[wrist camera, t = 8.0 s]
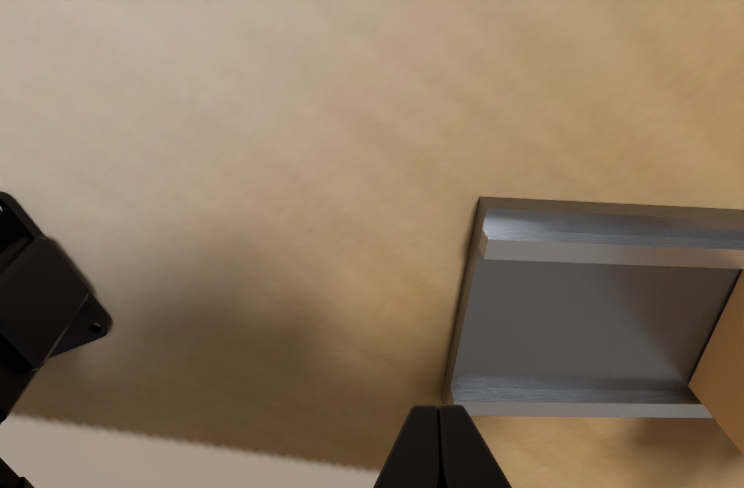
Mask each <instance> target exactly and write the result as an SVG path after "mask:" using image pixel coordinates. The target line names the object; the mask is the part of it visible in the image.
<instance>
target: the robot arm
mask: <svg viewBox="0 0 744 488" xmlns="http://www.w3.org/2000/svg"><path fill="white" fill-rule="evenodd" d="M0 206H1V208H2V210H3V211H0V424H1V423H2V422H3V421H4V420H5V419H6V418H7V417H8V415H9V414H10V412H11V411H12V409H13V408H14V406H15V405H16V403H17V402H18V400H19V399H20V397H21V396H22V394H23V393H24V391H25V390H26V388H27V387H28V385H29V384H30V382H31V381H32V379H33V378H34V376H35V375H36V373H37V372H38V370H39V369H40V368H41V367H42V366H43V365H44V364H45V362H46V361H47V359H48V358H51V357H53V356H56V355H58V354H61V353H64V352H66V351H69V350H71V349H74V348H76V347H79V346H81V345H84V344H86V343H89V342H91V341H94V340H97V339H99V338H102V337H103V336H105V335H106V334H107V332H108V330H109V329H110V327H111V319H110V317H109V316H108V315H107V314H106V312H105V311H104V310H103V309H102V308H101V306H100V305H99V304H98V303H97V301H96V300H95V299H94V298H93V296H92V295H91V294H90V293H89V291H88V289H87V288H86V286H85V285H84V284H83V283H82V282H81V280H80V279H79V278H78V277H77V275H76V274H75V273H74V272H73V271H72V269H71V268H70V267H69V266H68V264H67V263H66V262H65V261H64V260H63V258H62V257H61V256H60V255H59V253H58V252H57V251H56V250H55V248H54V247H53V246H52V245H51V244H50V242H49V241H48V240H46V239H45V238H44V236H43V235H42V234H41V233H40V232H39V230H38V229H37V228H36V227H35V225H34V224H33V223H32V222H31V221H30V219H29V218H28V217H27V216H26V214H25V213H24V212H23V211H22V210H21V208H20V207H19V206H18V205H17V203H16V202H15V201H14V200H13V199H12V198H11V197H10V196H9V195H8V194H6V193H4V192H0ZM93 322H94V323H98V324H99V325H100V326H101V327H98V326H95V325H93V324H92V323H93ZM0 488H34V487H33V486H32V485H31V483H30V482H29V481H28V480H27V479H26V478H25V477H19V476H18V475H17V474H16V473H15V472H14V471H13V470H12V469H11V468H10V467H9V466H8V465H7V464H6V463H5V462H4V461H3V460H2V459H1V458H0ZM373 488H512V487H511V485H510V484H509V482H508V480H507V478H506V477H505V475H504V473H503V472H502V470H501V468H500V467H499V465H498V463H497V462H496V460H495V458H494V456H493V455H492V453H491V451H490V450H489V448H488V446H487V445H486V443H485V441H484V439H483V438H482V436H481V434H480V433H479V431H478V429H477V428H476V426H475V424H474V423H473V421H472V419H471V417H470V416H469V414H468V412H467V411H466V409H465V408H464V407H463V406H462V405H459V404H452V405H440V406H439V407H438V409H437V406H435V405H414V406H413V407H412V408H411V409H410V411H409V414H408V416H407V418H406V420H405V422H404V424H403V426H402V428H401V430H400V432H399V435H398V437H397V439H396V441H395V443H394V445H393V447H392V449H391V451H390V453H389V456H388V458H387V460H386V462H385V464H384V466H383V468H382V470H381V472H380V475H379V477H378V479H377V481H376V483H375V485H374V487H373Z"/></svg>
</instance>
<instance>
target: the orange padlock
mask: <svg viewBox="0 0 744 488" xmlns="http://www.w3.org/2000/svg"><path fill="white" fill-rule="evenodd" d="M688 386H689V388H690V389H691V390H692V391H693V393H694V394H695V395H696V396H697V398H698V399H699V400H700V401H701V403H702V404H703V405H704V406H705V408H706V409H707V410H708V412H709V413H710V414H711V415H712V417H713V418H714V419H715V420H716V422H717V423H718V424H719V425H720V427H721V428H722V429H723V430H724V432H725V433H726V434H727V435H728V437H729V438H730V439H731V440H732V442H733V443H734V444H735V445H736V447H737V448H738V449H739V450H740V452H741V453H742V454H743V456H744V269H743V271H742V273H741V275H740V277H739V279H738V281H737V283H736V286H735V288H734V290H733V292H732V294H731V296H730V298H729V300H728V302H727V304H726V307H725V309H724V311H723V313H722V315H721V317H720V319H719V321H718V323H717V326H716V328H715V330H714V332H713V334H712V336H711V338H710V340H709V342H708V345H707V347H706V349H705V351H704V353H703V355H702V357H701V359H700V361H699V364H698V366H697V368H696V370H695V372H694V374H693V376H692V378H691V380H690V383H689V385H688Z"/></svg>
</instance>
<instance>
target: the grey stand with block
mask: <svg viewBox="0 0 744 488" xmlns="http://www.w3.org/2000/svg"><path fill="white" fill-rule="evenodd" d="M743 269H744V210H737V209H717V208H697V207H676V206H656V205H636V204H616V203H596V202H576V201H556V200H536V199H516V198H496V197H480V199H479V204H478V209H477V215H476V220H475V225H474V230H473V235H472V240H471V246H470V251H469V256H468V261H467V266H466V271H465V277H464V282H463V287H462V292H461V297H460V302H459V308H458V313H457V318H456V323H455V328H454V333H453V339H452V344H451V349H450V354H449V359H448V364H447V369H446V375H445V380H444V385H443V390H442V395H441V401H442V405H452V404H459V405H462V406H463V407H464V408H465V409H466V411H467V412H468V414H469V416H545V417H655V418H713V417H712V415H711V414H710V413H709V412H708V410H707V409H706V408H705V406H704V405H703V404H702V403H701V401H700V400H699V399H698V398H697V396H696V395H695V394H694V393H693V391H692V390H691V389H690V388H689V386H688V385H689V383H690V380H691V378H692V376H693V374H694V372H695V370H696V368H697V366H698V364H699V361H700V359H701V357H702V355H703V353H704V351H705V349H706V347H707V345H708V342H709V340H710V338H711V336H712V334H713V332H714V330H715V328H716V326H717V323H718V321H719V319H720V317H721V315H722V313H723V311H724V309H725V307H726V304H727V302H728V300H729V298H730V296H731V294H732V292H733V290H734V288H735V286H736V283H737V281H738V279H739V277H740V275H741V273H742V271H743Z"/></svg>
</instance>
